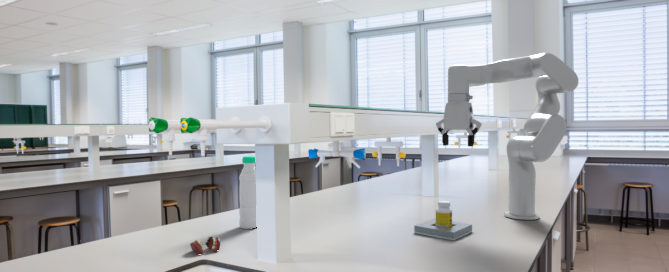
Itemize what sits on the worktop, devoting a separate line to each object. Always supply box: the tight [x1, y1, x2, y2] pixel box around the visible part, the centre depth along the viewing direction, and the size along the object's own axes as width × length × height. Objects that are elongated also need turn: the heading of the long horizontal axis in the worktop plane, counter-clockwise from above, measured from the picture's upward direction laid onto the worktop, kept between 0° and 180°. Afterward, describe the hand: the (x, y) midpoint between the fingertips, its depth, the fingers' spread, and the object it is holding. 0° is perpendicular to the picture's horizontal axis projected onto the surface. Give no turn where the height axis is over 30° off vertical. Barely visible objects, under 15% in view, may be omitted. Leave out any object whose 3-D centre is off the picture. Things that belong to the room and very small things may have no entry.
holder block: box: [413, 217, 473, 241], centre depth 144 cm, size 14×14×2 cm
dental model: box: [189, 236, 221, 255], centre depth 123 cm, size 6×4×8 cm
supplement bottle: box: [435, 200, 453, 228], centre depth 144 cm, size 5×5×10 cm
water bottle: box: [238, 155, 257, 230], centre depth 151 cm, size 7×7×25 cm
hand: (457, 145), depth 158 cm, fingers open, 9 cm apart
